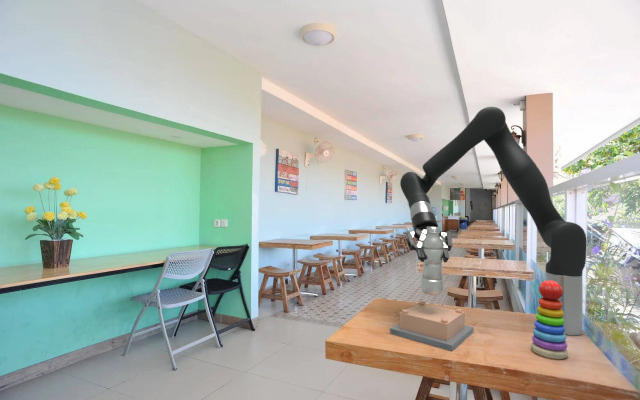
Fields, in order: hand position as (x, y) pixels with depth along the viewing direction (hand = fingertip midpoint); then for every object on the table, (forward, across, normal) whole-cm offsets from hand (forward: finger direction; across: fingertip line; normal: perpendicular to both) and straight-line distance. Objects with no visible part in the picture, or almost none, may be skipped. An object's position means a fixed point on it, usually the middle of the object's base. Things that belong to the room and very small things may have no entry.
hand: (434, 260), depth 99 cm
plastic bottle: (+6, 0, +9) cm, 11 cm away
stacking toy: (+23, +26, +7) cm, 36 cm away
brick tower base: (+14, 0, +16) cm, 22 cm away
